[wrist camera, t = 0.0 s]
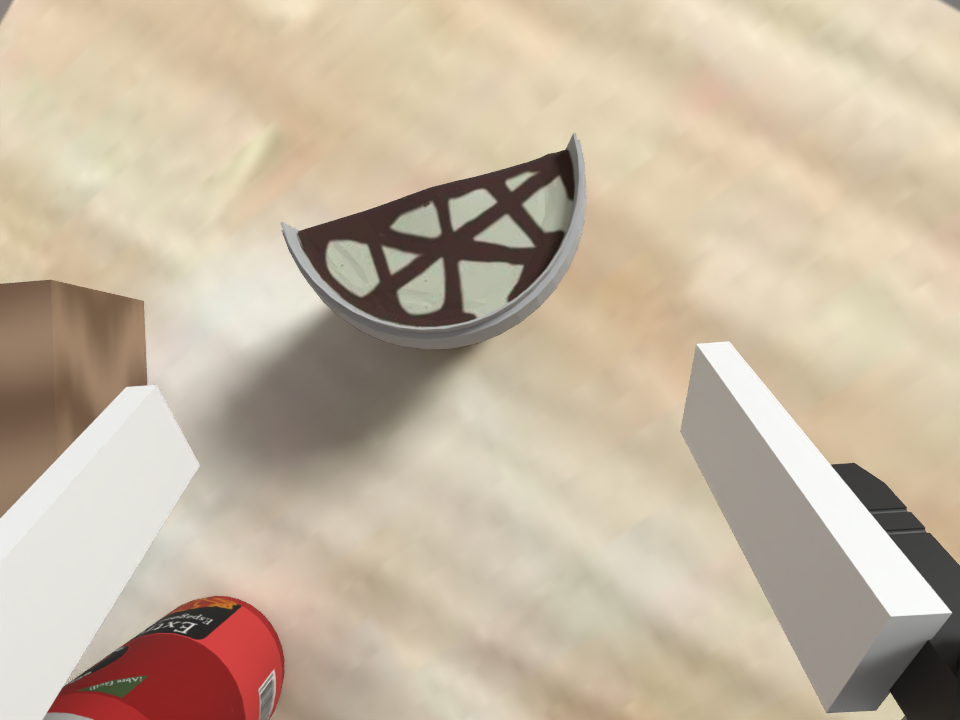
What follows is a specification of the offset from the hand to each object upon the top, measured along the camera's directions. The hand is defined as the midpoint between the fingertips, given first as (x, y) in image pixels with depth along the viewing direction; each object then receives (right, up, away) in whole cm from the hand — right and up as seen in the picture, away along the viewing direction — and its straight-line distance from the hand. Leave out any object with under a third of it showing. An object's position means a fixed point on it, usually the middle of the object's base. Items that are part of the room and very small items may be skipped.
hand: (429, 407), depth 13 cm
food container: (+1, +4, +16) cm, 16 cm away
